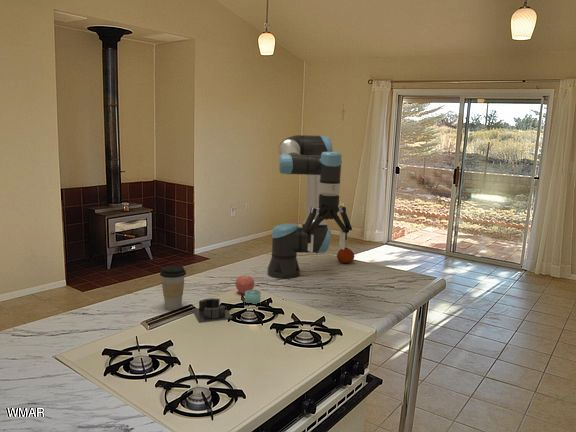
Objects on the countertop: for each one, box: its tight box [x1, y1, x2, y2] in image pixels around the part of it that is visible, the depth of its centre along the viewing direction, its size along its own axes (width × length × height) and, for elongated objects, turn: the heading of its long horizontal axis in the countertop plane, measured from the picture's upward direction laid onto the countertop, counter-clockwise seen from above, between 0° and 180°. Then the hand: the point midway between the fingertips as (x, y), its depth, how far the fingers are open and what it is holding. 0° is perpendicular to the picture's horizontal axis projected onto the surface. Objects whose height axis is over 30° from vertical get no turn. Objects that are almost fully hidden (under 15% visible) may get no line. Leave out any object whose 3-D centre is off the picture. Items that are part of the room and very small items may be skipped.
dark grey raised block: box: [191, 297, 233, 324], centre depth 173 cm, size 12×12×4 cm
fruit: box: [336, 247, 355, 264], centre depth 246 cm, size 9×9×8 cm
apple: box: [235, 274, 255, 295], centre depth 195 cm, size 7×7×8 cm
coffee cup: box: [159, 265, 187, 311], centre depth 177 cm, size 9×9×15 cm
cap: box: [244, 289, 262, 304], centre depth 184 cm, size 6×6×5 cm
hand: (326, 250), depth 180 cm, fingers open, 13 cm apart
